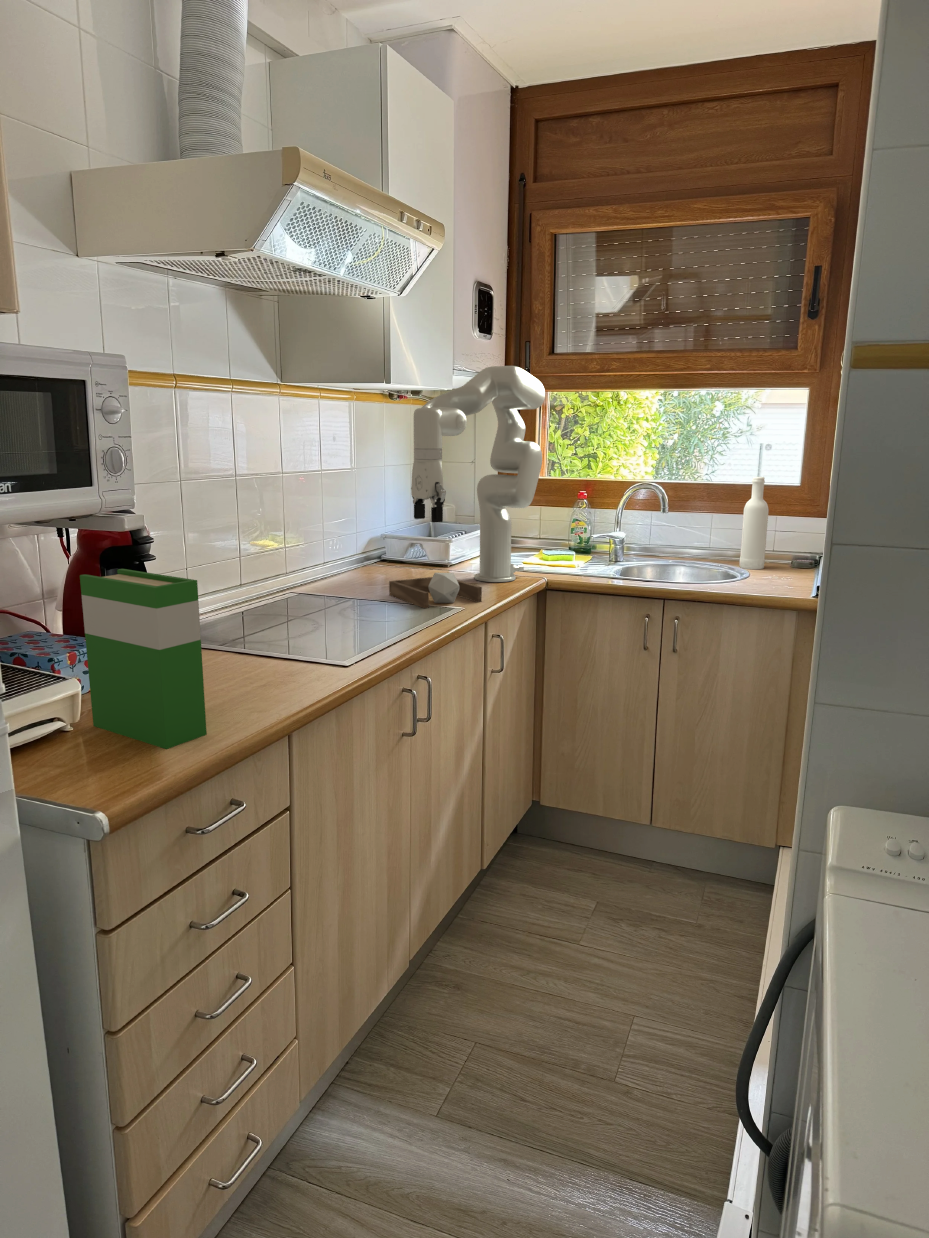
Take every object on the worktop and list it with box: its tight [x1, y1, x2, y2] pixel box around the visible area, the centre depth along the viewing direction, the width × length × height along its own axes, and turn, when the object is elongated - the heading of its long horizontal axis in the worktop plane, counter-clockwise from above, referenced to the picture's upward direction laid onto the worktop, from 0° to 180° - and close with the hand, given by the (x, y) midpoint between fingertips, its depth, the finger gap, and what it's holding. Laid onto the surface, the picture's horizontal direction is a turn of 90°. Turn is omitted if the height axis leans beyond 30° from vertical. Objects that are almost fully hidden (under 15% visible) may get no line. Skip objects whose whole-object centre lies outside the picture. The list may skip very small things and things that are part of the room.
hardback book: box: [79, 568, 208, 750], centre depth 133 cm, size 18×7×24 cm, turn 56°
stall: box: [388, 576, 483, 609], centre depth 238 cm, size 17×20×4 cm
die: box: [428, 572, 460, 604], centre depth 234 cm, size 8×9×10 cm
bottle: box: [739, 476, 769, 570], centre depth 290 cm, size 8×8×30 cm
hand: (428, 520), depth 236 cm, fingers open, 9 cm apart
